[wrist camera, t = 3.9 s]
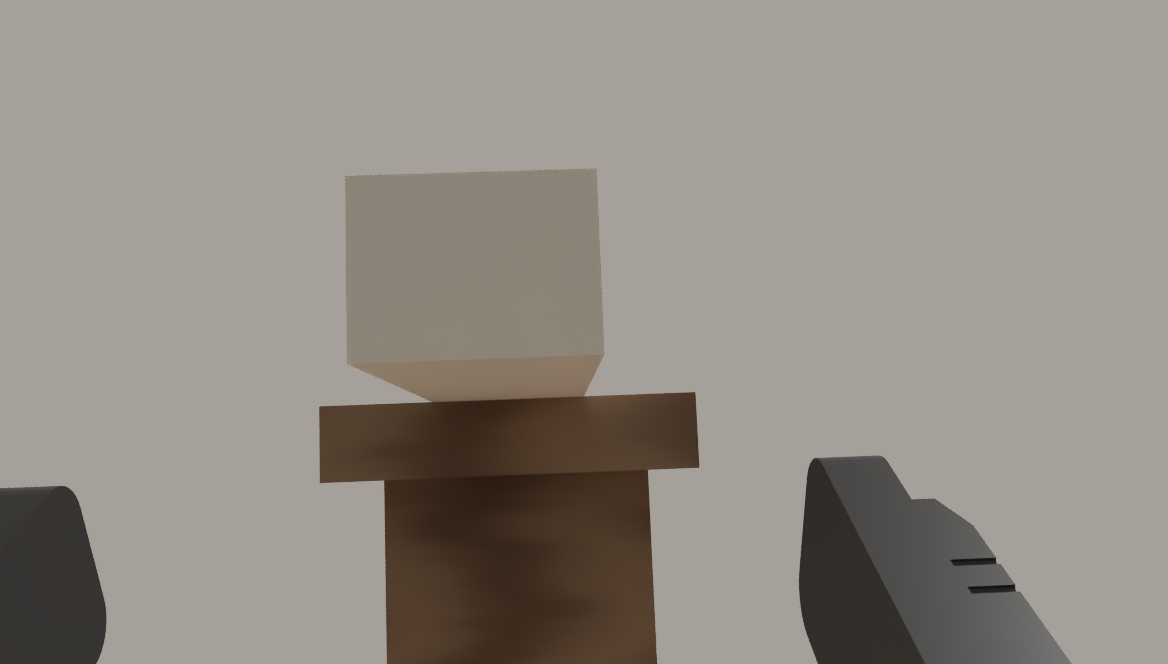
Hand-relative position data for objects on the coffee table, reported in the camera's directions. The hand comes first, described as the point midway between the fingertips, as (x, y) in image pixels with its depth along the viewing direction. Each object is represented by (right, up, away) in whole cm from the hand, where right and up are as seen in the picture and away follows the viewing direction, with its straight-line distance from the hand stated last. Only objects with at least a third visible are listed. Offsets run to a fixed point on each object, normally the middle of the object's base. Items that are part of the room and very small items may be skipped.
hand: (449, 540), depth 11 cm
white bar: (-1, -2, +19) cm, 19 cm away
